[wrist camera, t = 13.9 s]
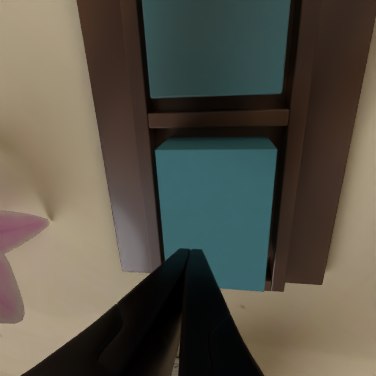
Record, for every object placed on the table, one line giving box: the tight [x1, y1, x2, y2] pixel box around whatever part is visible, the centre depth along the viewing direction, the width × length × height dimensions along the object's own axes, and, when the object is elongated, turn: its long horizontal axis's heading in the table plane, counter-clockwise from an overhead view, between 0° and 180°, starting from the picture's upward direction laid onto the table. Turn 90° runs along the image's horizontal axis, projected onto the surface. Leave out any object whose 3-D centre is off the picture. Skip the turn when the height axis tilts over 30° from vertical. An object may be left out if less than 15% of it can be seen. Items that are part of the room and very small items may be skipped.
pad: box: [155, 136, 277, 292], centre depth 14 cm, size 6×8×3 cm
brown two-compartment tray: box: [77, 0, 376, 292], centre depth 13 cm, size 14×22×4 cm, turn 2°
